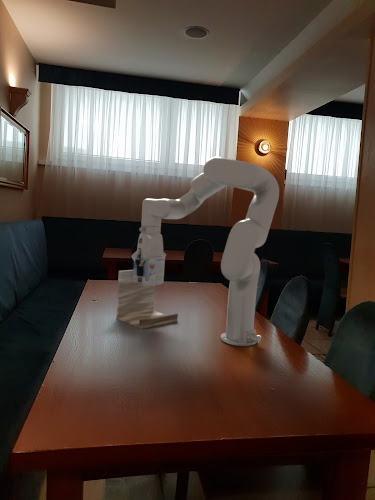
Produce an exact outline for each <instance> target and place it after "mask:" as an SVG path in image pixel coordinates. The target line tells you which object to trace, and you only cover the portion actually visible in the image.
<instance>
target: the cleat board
mask: <svg viewBox="0 0 375 500" xmlns="http://www.w3.org/2000/svg"><path fill="white" fill-rule="evenodd" d="M155 288H156V285H155V286H153V285H148V284H143V283H137V282H133V269H128V270H127V269H126V270H118V279H117V296H116V297H117V298H116V300H117V301H116V320H119V321H122V322H124V323H126V324H129V325H132V326H134V327H136V328H139V329H140V330H143V329H147V328H151V327H152V328H153V327H156V326H157V327H158V326H161V325H165V324H166V325H167V324H171V323H177V322H178V317H179V316H178V313H176V312H174V313H167V314H166V313H165V314H164V313H162V312H159V311H157V310H154V309H155V307H154V306H155Z"/></svg>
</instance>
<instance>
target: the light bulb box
mask: <svg viewBox="0 0 375 500" xmlns="http://www.w3.org/2000/svg"><path fill="white" fill-rule="evenodd" d="M139 257H140V256H139ZM141 258H142V257H141ZM137 259H138V258H137ZM140 262H141V261H140ZM165 262H166V257H162V256H159V257H149V260H145V261H144V263H143V265H142V266H143V267H144V268H143V277H140V276H137V265H136V264H135V262H134V261H133V269H132V270H133V282H137V283H143V284H148V285H153V286H155V287H156V286H158V285H159V286H160V285H163V284H164V282H165V281H164V278H165Z"/></svg>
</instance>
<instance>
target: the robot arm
mask: <svg viewBox="0 0 375 500" xmlns="http://www.w3.org/2000/svg"><path fill="white" fill-rule="evenodd" d="M202 171H203V172H202V173H200V174H198V175H197V176H195V177H194V178H193V179H191V181H190V182H189V183H190V185H189V187H190V189H189V191H188V192H187V193H185V194H183V196H181V197H180V198H177V199H174V198H173V199H172V198H171V199H170V198H158V199H157V198H145V199H143V200H142V208H141V227H139V229H138V231H139V232H140V234H139V236H138V240H137V247H136V248H137V249H136V251H134V253H132V254H131V258H132V260H133V263H134V262H135V264H136V265H137V276H140V277H143V268H144V267H143V266H142V265H143V263H144V261H145V260H149V257H159V256H162V257H165V258H166V256H167V253H165V252H164V241H163V240H164V239H163V235H162V234H161V228H162V219H163V220H164V219H165V220H179V219H183V218H184V217H186V216H188V215H190V214H191V213H193V212H194V211H196V210H197V209H198V208H199V207H200V206H201V205H202V204H203V203H204V201H206V200H207V199H208V198H210V197H211V196H213V195H214V194H216V193H217V192H219V191H221V190H222V189H224V188H226V187H227V186H228V187H232V188H236V189H241V190H245V191H249V192H252V193H253V198H252V200H251V202H250V204H249V205H248V210H247V213H246V216H245V219H243V220H239V221H237V222H236V223H235V224H234V225H233V226H232V228H231V229H230V232H229V234H228V237H227V240H226V244H225V248H224V251H223V253H222V258H221V261H220V270H221V274H222V275H223V276H224V278H225V279H227V280H228V281H229V286H228V293H227V294H228V295H227V307H226V308H227V309H226V320H225V322H226V323H225V332H223V333H221V334H220V341H222V342H223V343H226V344H228V345H230V346H231V345H232V346H237V347H250V346H253V345H256V344H260V343H261V341H262V338H263V337H262V335H259V334H257V330H256V329H254V326H255V315H256V314H255V312H256V300H257V292H258V291H257V289H258V284H259V277H260V273H261V260H260V259H259V257H258V254H256V253H255V252H256V249H257V248H260V247H262V246H264V244H265V243H266V241H267V238H268V235H269V231H270V229H271V225H272V222H273V218H274V214H275V212H276V208H277V206H278V201H279V199H280V198H279V197H280V186H279V183H278V181H277V180H276V177H275V176H274V175H273V174H272V173H271V172H270V171H268V170H267V169H266V168H264V167H261V166H259V165H257V164H254V163H252V162H247V161H243V160H238V159H237V160H236V159H231V158H227V157H223V156H213V157H211V158H209V159H208V160H207V161H206V162H205V164H204V165H203V169H202ZM139 256H140V257H139ZM141 257H142V258H141ZM137 258H138V259H137ZM140 261H141V262H140Z"/></svg>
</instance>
